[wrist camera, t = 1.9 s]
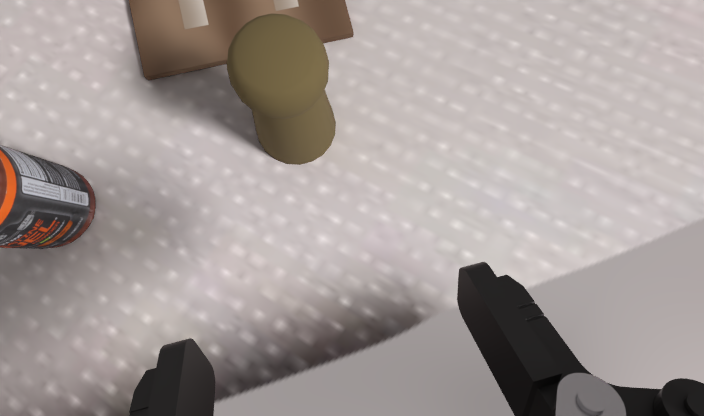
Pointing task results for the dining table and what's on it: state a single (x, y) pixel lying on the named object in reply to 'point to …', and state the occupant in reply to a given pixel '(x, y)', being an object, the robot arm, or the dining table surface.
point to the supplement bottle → (41, 202)
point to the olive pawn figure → (284, 86)
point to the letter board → (218, 28)
